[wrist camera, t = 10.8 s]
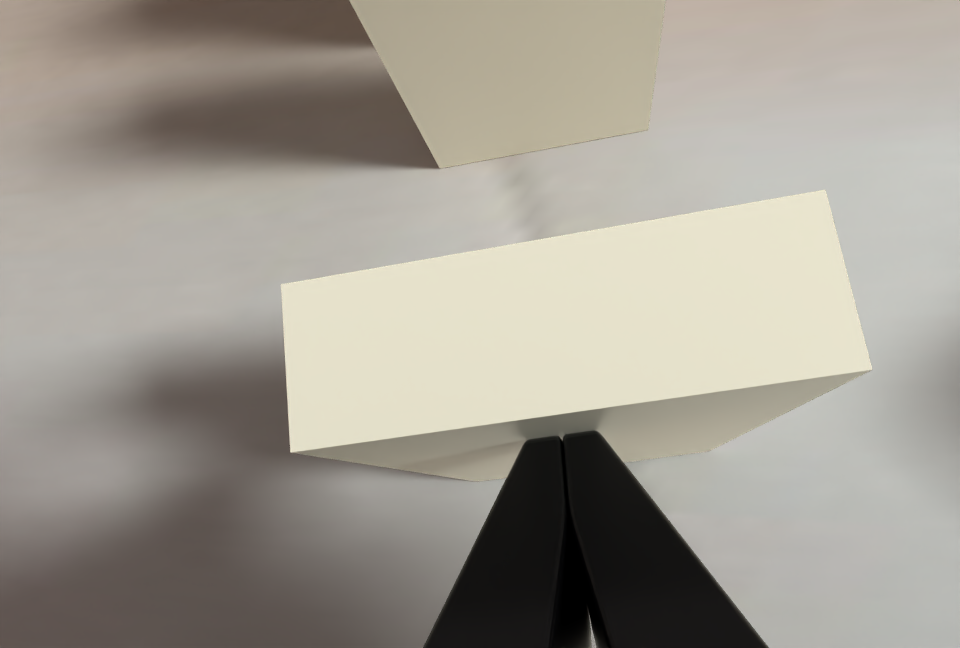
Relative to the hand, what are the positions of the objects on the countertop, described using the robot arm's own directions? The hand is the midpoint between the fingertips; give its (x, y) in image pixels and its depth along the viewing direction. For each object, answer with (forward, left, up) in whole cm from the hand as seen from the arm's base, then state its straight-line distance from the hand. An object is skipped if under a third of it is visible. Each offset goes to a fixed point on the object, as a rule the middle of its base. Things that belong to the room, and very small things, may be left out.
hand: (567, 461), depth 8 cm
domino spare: (+1, 0, -8) cm, 8 cm away
